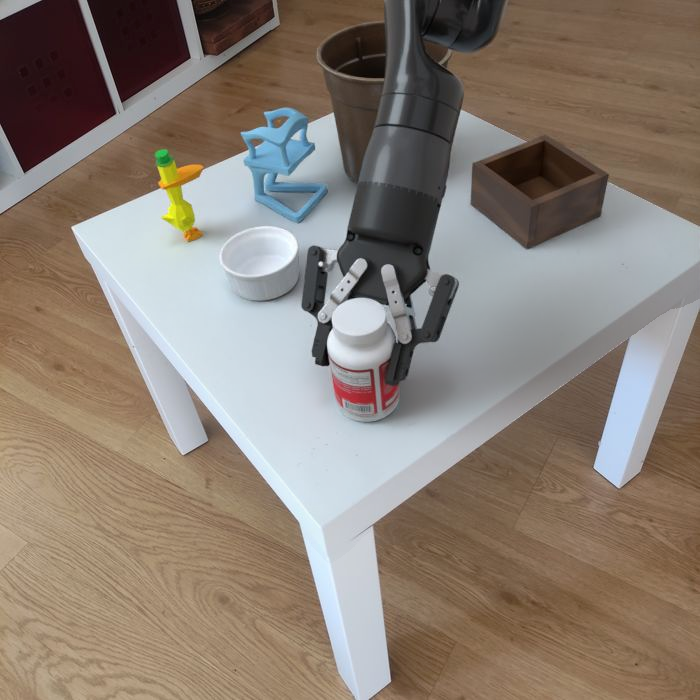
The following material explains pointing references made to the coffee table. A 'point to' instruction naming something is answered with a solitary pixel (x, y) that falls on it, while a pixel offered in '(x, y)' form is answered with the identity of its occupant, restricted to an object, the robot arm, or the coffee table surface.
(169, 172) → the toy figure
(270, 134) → the chair
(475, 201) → the holder
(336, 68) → the plant pot
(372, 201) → the robot arm
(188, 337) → the coffee table surface
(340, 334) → the pill bottle
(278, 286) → the ramekin
